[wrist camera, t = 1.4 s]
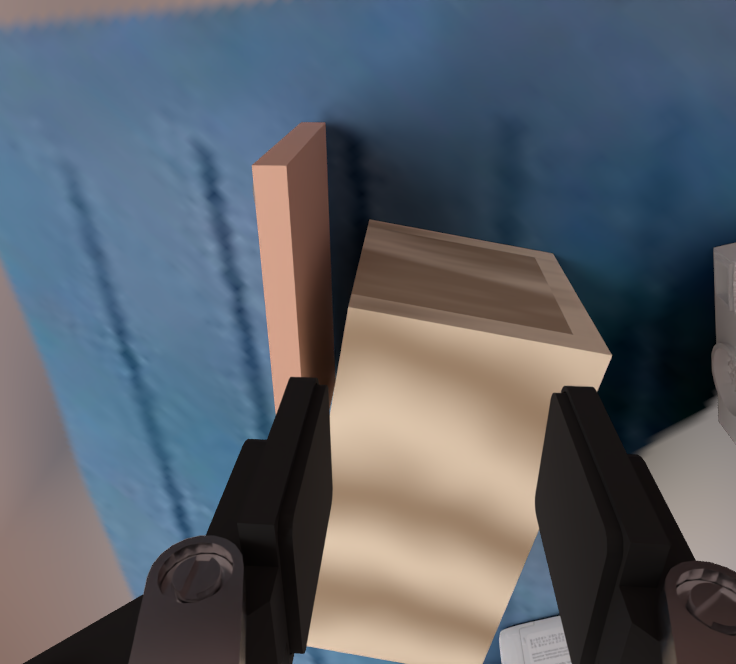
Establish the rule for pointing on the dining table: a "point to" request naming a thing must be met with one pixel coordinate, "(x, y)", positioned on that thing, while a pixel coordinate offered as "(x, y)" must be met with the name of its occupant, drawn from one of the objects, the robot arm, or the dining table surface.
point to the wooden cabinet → (441, 440)
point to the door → (296, 256)
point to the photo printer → (535, 643)
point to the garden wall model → (725, 336)
